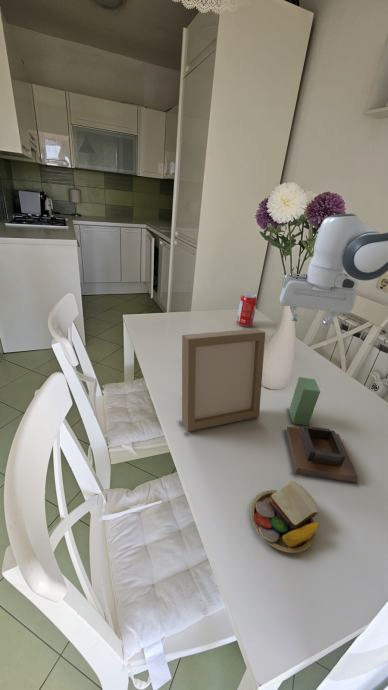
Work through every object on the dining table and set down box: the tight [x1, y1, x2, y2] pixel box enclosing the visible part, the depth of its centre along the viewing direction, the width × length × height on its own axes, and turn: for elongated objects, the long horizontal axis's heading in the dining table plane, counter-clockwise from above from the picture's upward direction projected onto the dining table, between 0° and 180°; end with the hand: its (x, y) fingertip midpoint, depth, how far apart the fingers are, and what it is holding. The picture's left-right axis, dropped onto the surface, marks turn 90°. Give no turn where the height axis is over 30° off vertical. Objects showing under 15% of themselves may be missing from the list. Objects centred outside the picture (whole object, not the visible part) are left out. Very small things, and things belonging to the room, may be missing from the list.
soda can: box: [236, 292, 258, 328], centre depth 145 cm, size 8×8×15 cm
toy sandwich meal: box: [249, 480, 320, 554], centre depth 59 cm, size 12×14×5 cm
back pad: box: [288, 376, 321, 426], centre depth 87 cm, size 4×6×12 cm
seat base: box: [285, 425, 359, 484], centre depth 76 cm, size 14×14×5 cm
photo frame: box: [181, 328, 266, 432], centre depth 83 cm, size 15×22×25 cm
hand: (309, 322), depth 90 cm, fingers open, 8 cm apart
